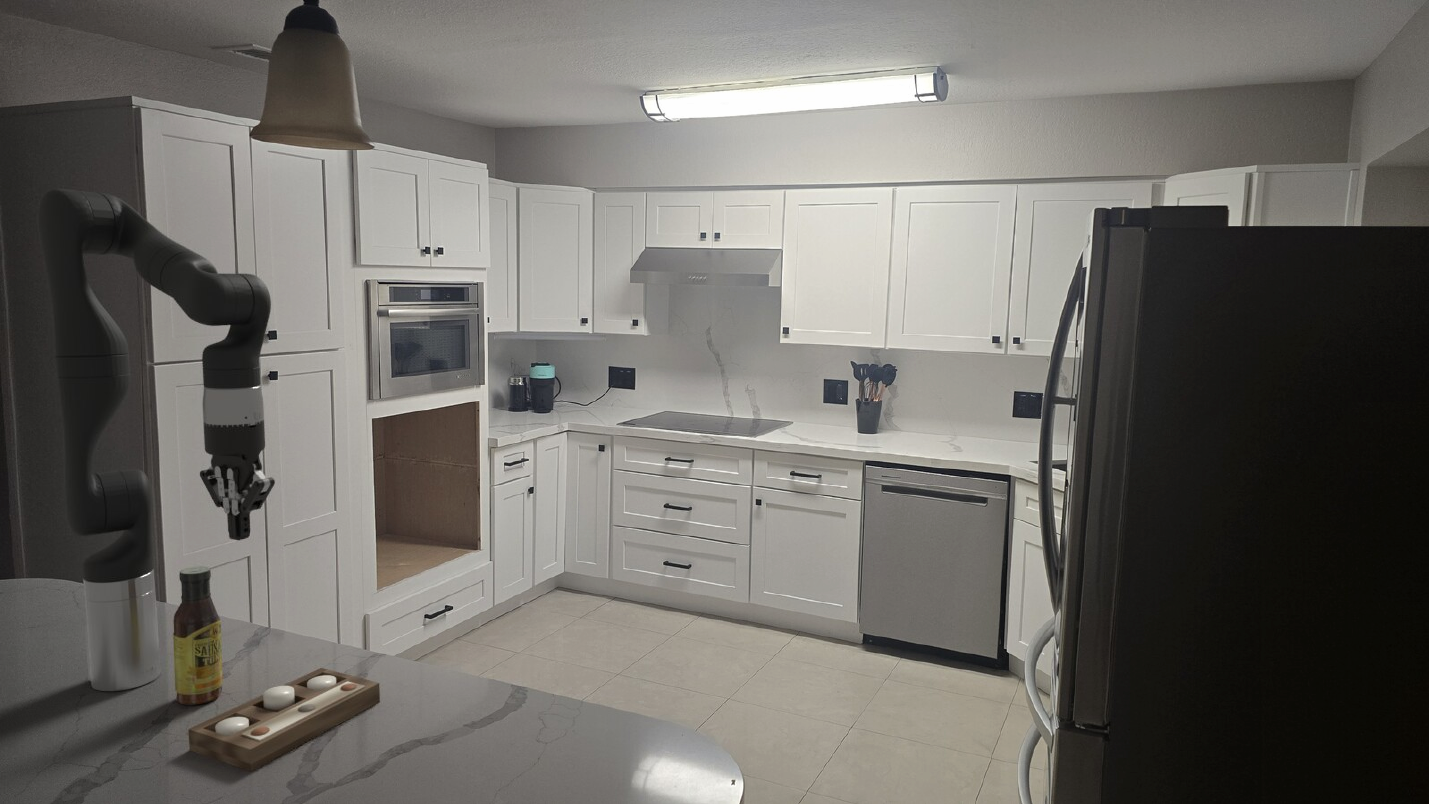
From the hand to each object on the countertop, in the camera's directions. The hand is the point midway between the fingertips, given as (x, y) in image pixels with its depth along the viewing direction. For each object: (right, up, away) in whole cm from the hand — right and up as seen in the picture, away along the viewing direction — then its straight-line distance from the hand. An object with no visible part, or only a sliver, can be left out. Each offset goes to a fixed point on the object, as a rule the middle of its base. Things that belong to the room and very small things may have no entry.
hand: (239, 538), depth 130 cm
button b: (+5, -24, +1) cm, 25 cm away
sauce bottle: (-10, -26, +8) cm, 29 cm away
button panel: (+7, -27, 0) cm, 28 cm away
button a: (+8, -25, +8) cm, 27 cm away
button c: (+2, -26, -6) cm, 27 cm away
